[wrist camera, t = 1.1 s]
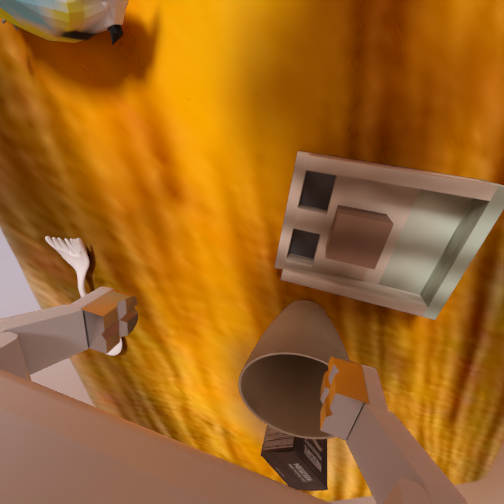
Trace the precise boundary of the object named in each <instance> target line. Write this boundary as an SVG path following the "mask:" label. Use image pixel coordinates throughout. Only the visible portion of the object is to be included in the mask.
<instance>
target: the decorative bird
mask: <svg viewBox="0 0 504 504" xmlns="http://www.w3.org/2000/svg"><path fill="white" fill-rule="evenodd" d="M127 4H128V0H0V18H2V19H3V20H2V23H3V24H4V23H5V22H6V21H8V22H10V23H12V24H13V25H14V27H15V28H16V30H19V29H18V28H17V26H18V27H20V28H22V29H24V30H26V31H28V32H30V33H32V34H35V35H37V36H39V37H42V38H44V39H46V40H49V41H61V42H70V43H76V42H80V41H84V40H87V39H89V38H91V37H93V36H94V35H96V34H98V33H101V32H104V31H106V30H108V31H109V32H110V33H111V39H112V45H113V44H114V43H115V42H116V41H117V40H118V39H119V38H120V37H121V36H122V35H123V31H122V27H121V25H123V21H124V15H125V9H126V7H127Z"/></svg>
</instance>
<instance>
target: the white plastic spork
mask: <svg viewBox="0 0 504 504" xmlns="http://www.w3.org/2000/svg"><path fill="white" fill-rule="evenodd" d="M45 239H46V241H47V242H48V243H49V244H50V245H51V246H52V247H53V248H54V249H55V250H57V251H58V252H59V253H60V254H61V256H62V257H63V258H64V259H65V260H66V261H67V262H68V263H69V264H70V265H71V266H72V267H73V268H74V269H75V270H76V273H77V277H78V289H79V293H80V295H81V298H82V297H84V296H86V295H87V293H86V290H85V276H86V273H87V270H88V268H89V265H90V261H89V257H88V255H87V252H86V249H85V246H84V243H83V241H82V240H81V239H80V238H77V239H74V240H73V239H71V238H70V241H71V242H70V241H69V240H68V239H66V238H65V242H66V243H65V242H64V241H63V240H62V239H61V238H58V240H59V241H58V240H57V239H56V238H55V237H53V238H52V239H53V240H52V239H51V238H50V237H49V236H46V237H45ZM121 350H122V339H121V338H120V343H118V344H117V345H116V346H115V347H114V348H113V349H112V350H111V351H110V352H109V353H107V354H108V355H117V354H119V353H120V352H121ZM105 354H106V353H105Z"/></svg>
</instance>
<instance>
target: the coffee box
mask: <svg viewBox="0 0 504 504" xmlns="http://www.w3.org/2000/svg"><path fill="white" fill-rule="evenodd" d="M261 456H262V457H263V458H264V459H265V460H266V461H267V462H268V463H269V464H270V466H271V467H272V468H273V469H274V470H275V471H276V472H277V473H278V474H279V476H280V477H281V478H282V479H283V480H284V481H285V482H286V483H287V484H288V486H289V487H292V488H294V489H297V490H307V491H314V490H315V491H317V490H327V489H328V488H327V439H307V438H301V437H296V436H292V435H289V434H286V433H283V432H281V431H278V430H276V429H274V428H272V427H270V426H269V425H267V428H266V432H265V437H264V442H263V446H262V451H261Z"/></svg>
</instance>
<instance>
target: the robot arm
mask: <svg viewBox="0 0 504 504" xmlns="http://www.w3.org/2000/svg"><path fill="white" fill-rule="evenodd" d="M136 306H137V298H136V297H135V296H133V295H130V294H127V293H124V292H121V291H118V290H114V289H111V288H108V287H99V288H98V289H96V290H94V291H92V292H91V293H89V294H87V295H86V296H84V297H82V298H80V299H79V300H77V301H75V302H74V303H72V304H70V305H61V306H56V307H52V308H47V309H43V310H38V311H34V312H29V313H25V314H20V315H16V316H11V317H7V318H2V319H0V504H331V503H328V502H326V501H323V500H321V499H319V498H316V497H314V496H311V495H309V494H306V493H304V492H301V491H299V490H297V489H294V488H292V487H289V486H287V485H284V484H282V483H279V482H277V481H275V480H272V479H270V478H267V477H265V476H262V475H260V474H257V473H255V472H252V471H250V470H248V469H245V468H243V467H240V466H238V465H235V464H233V463H230V462H228V461H226V460H223V459H221V458H218V457H216V456H213V455H211V454H208V453H206V452H204V451H201V450H199V449H196V448H194V447H191V446H189V445H186V444H184V443H181V442H179V441H177V440H174V439H172V438H169V437H167V436H164V435H162V434H159V433H157V432H155V431H152V430H150V429H147V428H145V427H142V426H140V425H137V424H135V423H133V422H130V421H128V420H125V419H123V418H120V417H118V416H115V415H113V414H111V413H108V412H106V411H103V410H101V409H98V408H96V407H93V406H91V405H89V404H86V403H84V402H81V401H79V400H76V399H74V398H71V397H69V396H67V395H64V394H62V393H59V392H57V391H54V390H52V389H49V388H47V387H45V386H42V385H40V384H37V383H35V382H32V381H31V378H30V374H33V373H35V372H37V371H40V370H42V369H44V368H46V367H48V366H51V365H53V364H55V363H57V362H60V361H62V360H64V359H67V358H69V357H71V356H73V355H76V354H78V353H80V352H82V351H85V350H87V349H88V348H91V349H94V350H97V351H100V352H103V353H106V354H107V353H109V352H110V351H111V350H112V349H113V348H114V347H115V346H116V345H117V344H118V343H120V338H121V337H123V336H126V335H128V334H129V333H130V332H131V331H132V330H133V329H134V327H135V325H136V324H137V320H138V313H137V311H136V310H135V307H136ZM320 400H321V402H322V403H323V406H322V408H321V411H320V431H323V432H326V433H328V434H331V435H333V436H336V437H338V438H341V439H343V440H346V443H347V445H348V447H349V449H350V451H351V453H352V455H353V457H354V459H355V461H356V463H357V465H358V467H359V469H360V471H361V473H362V475H363V477H364V479H365V481H366V483H367V485H368V487H369V489H370V491H371V493H372V495H373V497H374V499H375V500H376V502H377V504H468V503H467V501H466V499H465V498H464V497H463V496H462V494H461V493H460V492H459V491H458V490H457V488H456V487H455V486H454V485H453V484H452V483H451V481H450V480H449V479H448V478H447V477H446V475H445V474H444V473H443V472H442V471H441V469H440V468H439V467H438V466H437V465H436V463H435V462H434V461H433V460H432V459H431V457H430V456H429V455H428V454H427V453H426V451H425V450H424V449H423V448H422V447H421V446H420V444H419V443H418V442H417V441H416V440H415V438H414V437H413V436H412V435H411V434H410V432H409V431H408V430H407V429H406V428H405V426H404V425H403V424H402V423H401V422H400V420H399V419H398V418H397V417H396V416H395V414H394V413H392V412H390V411H388V409H387V405H386V401H385V398H384V394H383V390H382V387H381V383H380V379H379V376H378V372H377V370H376V369H375V368H372V367H369V366H365V365H362V364H357V363H354V362H351V361H347V360H344V359H341V358H337V357H334V356H331V358H330V360H329V363H328V371H327V372H325V374H324V377H323V380H322V385H321V393H320Z"/></svg>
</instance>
